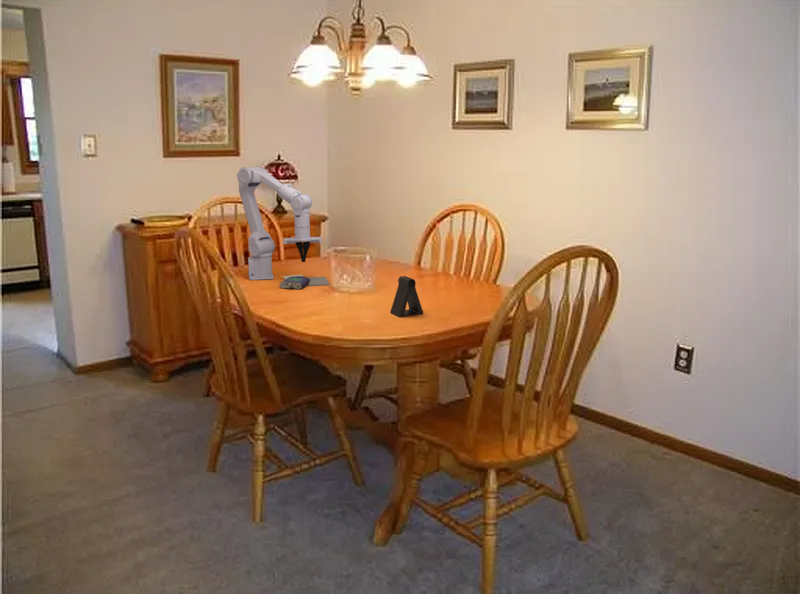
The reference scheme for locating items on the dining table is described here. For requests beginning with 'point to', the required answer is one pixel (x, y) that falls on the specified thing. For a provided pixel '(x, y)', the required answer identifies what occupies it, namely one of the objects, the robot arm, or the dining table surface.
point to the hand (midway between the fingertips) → (303, 261)
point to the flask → (295, 282)
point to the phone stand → (406, 298)
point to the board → (318, 281)
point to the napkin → (290, 276)
